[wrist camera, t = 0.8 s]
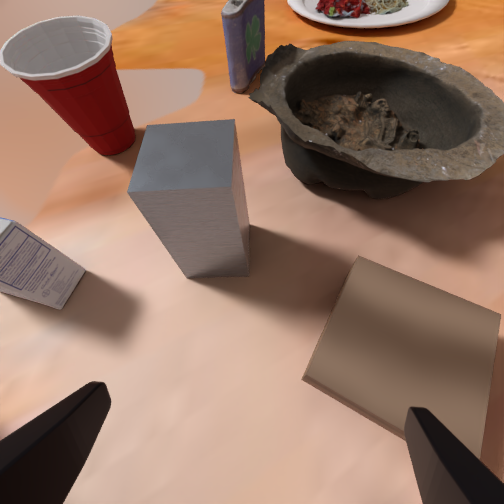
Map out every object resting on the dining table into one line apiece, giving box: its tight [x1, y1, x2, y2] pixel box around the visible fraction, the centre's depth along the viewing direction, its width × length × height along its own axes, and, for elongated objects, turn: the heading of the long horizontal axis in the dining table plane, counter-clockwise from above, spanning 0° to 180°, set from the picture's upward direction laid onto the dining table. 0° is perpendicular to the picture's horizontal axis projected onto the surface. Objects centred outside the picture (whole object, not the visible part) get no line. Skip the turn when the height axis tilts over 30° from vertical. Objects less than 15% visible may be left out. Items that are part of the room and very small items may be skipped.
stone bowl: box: [248, 41, 504, 199], centre depth 29 cm, size 25×25×9 cm
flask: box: [221, 0, 265, 93], centre depth 38 cm, size 10×3×12 cm, turn 157°
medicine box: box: [0, 218, 85, 310], centre depth 23 cm, size 8×4×9 cm, turn 74°
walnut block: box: [302, 256, 501, 460], centre depth 20 cm, size 10×10×4 cm
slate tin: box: [127, 119, 250, 278], centre depth 22 cm, size 6×6×12 cm
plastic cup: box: [0, 16, 135, 155], centre depth 32 cm, size 11×11×12 cm
